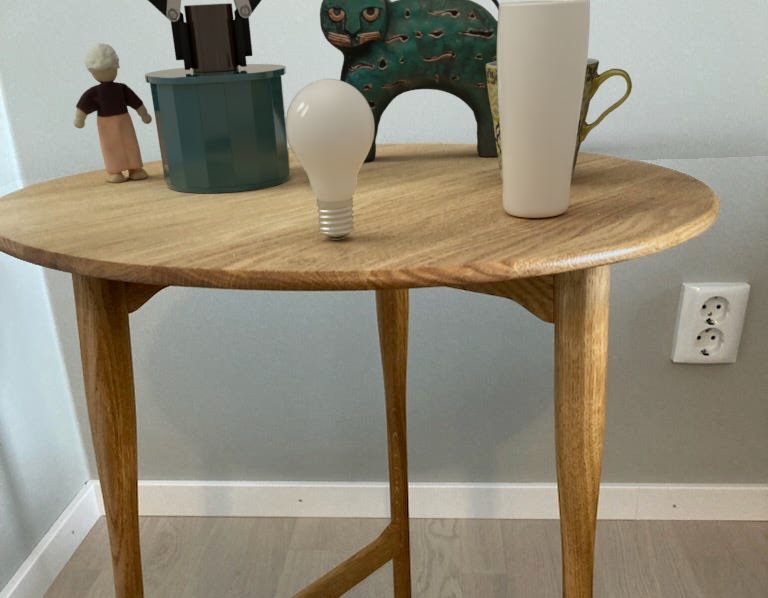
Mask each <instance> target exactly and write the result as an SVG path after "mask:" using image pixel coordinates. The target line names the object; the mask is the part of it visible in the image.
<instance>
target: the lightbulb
mask: <svg viewBox="0 0 768 598" xmlns="http://www.w3.org/2000/svg"><path fill="white" fill-rule="evenodd" d="M285 127H286V136H287V140H288V147H289V148H290V150H291V152H292V154H293V156H294V158H295V159H296V160H297V162H298V163H299V164H300V166H301V167H302V169H303V171H304V172H305V174H306V175H307V178H308V180H309V186H310V189H311V192H312V193H313V195H314V197H315V199H316V207H317V213H318V215H317V218H318V219H319V220H318V222H317V223H318V224H319V226H318V232H319V233H320V234H321V235H323V236H325V237H326V238H329V240H332V241H339V240H343V239H345V238H346V237H348V236H349V235H350V234H351V233H353V232H354V231H355V227H354V225H355V222H354V220H355V219H354V215H353V214H354V210H353V208H354V195H355V193H356V190H357V183H358V177H359V173H360V170H361V168H362V166H363V164H364V163H365V162H364V160H365V159H366V157H367V155H368V153H369V151H370V148H371V146H372V143H373V138H374V129H375V127H374V118H373V114H372V111H371V108H370V106H369V104H368V102H367V100H366V99H365V97H364V96H363V95H362V94H361V93H360V92H359V91H358V90H357V89H356V88H355V87H353V86H352V85H350V84H348V83H346V82H344V81H341V80H340V79H335V78H323V79H317V80H315V81H312V82H310V83H308V84H306V85H305V86H304V87H302V88H301V89H299V91H298V92H297V93H296V94H295V95H294V97H293V98H292V100H291V102H290V103H289V106H288V108H287V112H286V125H285Z"/></svg>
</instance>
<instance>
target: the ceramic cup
mask: <svg viewBox="0 0 768 598" xmlns="http://www.w3.org/2000/svg"><path fill="white" fill-rule="evenodd" d="M599 64H600V60H598V59H596V58H590V57H588V58H587V67H586V75H585V82H584V90H583V96H582V103H581V110H580V117H579V124H578V131H577V139H576V146H575V153H574V160H573V168H572V176H571V180H572V179H573V177H574V174H575V169H576V165H577V160H578V155H579V152H580V151H579V150H580V148H581V145H582V143H583V142H585V140H586V138H587V136H588V135H589V133H590V132H591V131H592V130H593V129H594V128H596V127H597V126H599V124H600V123H601V122H602V121H603V120H604V119H605V118H606V117H607V116H608V115H609V114H611V113H612V112H613V111H615V110H617V108H619V107H620V106H621V105H622V104H624V102H626V100H627V99H628V98H629V96H630V94H631V93H632V88H633V82H632V78H631V77H630V75H629V73H628V72H627V71H625V70H624V69H622V68H610V69H607V70H605V71H603V72H601V73H600V74H599V73H598V69H599V66H600V65H599ZM614 76H620V77H621V78H624V80H625V81H626V84H627V85H626V92H625V93H624V95H623V96H622V97H621V98H620V99H618V100H617V101H616V102H615V103H614V104H612V105H610V106H609V107H608V108H607V109H605V110H604V111H603V112H602V113H601V114H600V115H599V116H598V117H597V119H596V120H594V121H593V122H592V123H588V122H587V121H586V120H587V116H588V113H589V109H590V103H591V100H593V97H594V96H595V94H596V92H597V91H598V90H599V88H600V86H601V85H602V84H603V83H604V82H606V81H607V80H608V79H610V78H611V77H614ZM486 77H487V87H488V94H489V101H490V107H491V112H492V116H493V123H494V132H495V139H496V146H497V153H498V156H497V160H498V169H499V176H500V179H501V182H503V176H502V155H501V137H500V119H499V102H498V85H497V61H495V62H490V63H487V64H486Z"/></svg>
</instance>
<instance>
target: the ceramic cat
mask: <svg viewBox="0 0 768 598" xmlns="http://www.w3.org/2000/svg"><path fill="white" fill-rule="evenodd" d="M491 2H492V3H493V4H494V5H495V7H496V9H497V11H499V4H500V3H499V1H498V0H491ZM319 22H320V23H319V24H320V30H321V32H322V34H323V36H324V38H325V40H326V41H327V42H328V43H329V44H330V45H331V46H332V47H334V48H335V49H337V50H338V51H340V52H341V54H342V56H343V62H342V66H341V71H340V78H339V80H341V81H344V82H346V83H348V84H350V85H352V86H353V87H355V88H356V89H357V90H358V91H359V92H360V93H361V94H362V95H363V96H364V97H365V99H366V100H367V102H368V104H369V106H370V108H371V111H372V114H373V118H374V127H375V129H374V138H373V143H372V146H371V148H370V151H369V153H368V155H367V157H366V159H365V160H364V162H363V163H369V162H373V161H375V159H376V154H377V145H376V144H377V141H376V140H377V136H378V131H379V125H380V122H381V118H382V116H383V114H384V112H385V111H386V110H387V108H388V106H389V105H390V104H391V103H392V102H393V100H395V99H396V98H397V97H398V96H400V95H402V94H404V93H408V92H411V91H417V90H418V91H419V90H433V91H441V92H443V93H447V94H449V95H452V96H453V97H456V98H458V99H460V100H461V101H462V102H464V103H465V105H467V106H468V107H469V109H470V110H471V111H472V113H473V116H474V119H475V122H476V150H477V154H478V157H483V158H491V157H492V158H493V157H494V158H495V157H498V153H497V146H496V139H495V132H494V123H493V116H492V112H491V107H490V101H489V94H488V87H487V77H486V64H487V63H490V62H495V61H497V25H498V20H496V18H495V17H494V15H493V14H492V13H491V12H490V11H489V10H487V9H486V8H485V7H484V6H483V5H481V4H480V3H478V2H475V1H474V0H394V1H392V0H322V1H321V4H320V9H319Z"/></svg>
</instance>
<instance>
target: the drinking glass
mask: <svg viewBox="0 0 768 598" xmlns="http://www.w3.org/2000/svg"><path fill="white" fill-rule="evenodd" d="M497 11H498V10H497ZM497 13H498V14H497V21H498V25H497V85H498V102H499V119H500V137H501V155H502V176H503V181H502V203H501V204H502V209H503V211H504V212H505V213H506V214H508V215H511V216H513V217H518V218H527V219H542V218H543V219H545V218H553V217H556V216H557V217H558V216H559V215H562V214H564V213H565V212H566V211H567V210H568V208H569V206H570V198H571V197H570V196H571V182H572V179H571V176H572V168H573V160H574V153H575V146H576V139H577V131H578V124H579V117H580V110H581V103H582V96H583V90H584V82H585V75H586V67H587V58H589V43H590V25H591V24H590V23H591V21H590V20H591V0H523V1H522V0H521V1H507V2H506V1H505V2H500V3H499V11H498V12H497Z"/></svg>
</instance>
